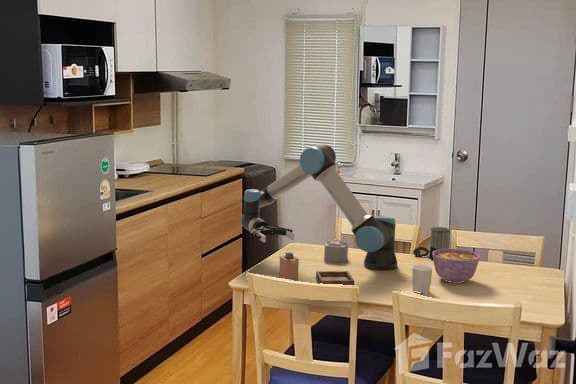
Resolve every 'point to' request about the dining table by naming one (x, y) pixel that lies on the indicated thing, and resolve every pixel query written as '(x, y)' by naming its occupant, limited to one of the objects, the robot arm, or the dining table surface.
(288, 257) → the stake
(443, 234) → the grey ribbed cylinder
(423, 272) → the white cup
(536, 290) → the dining table surface
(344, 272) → the tray
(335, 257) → the lumpy-topped squat cylinder
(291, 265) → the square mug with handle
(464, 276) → the bowl of food
